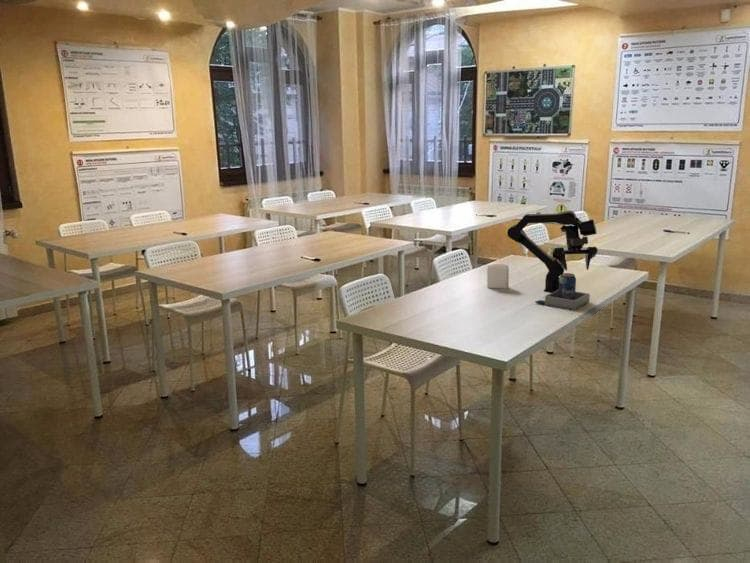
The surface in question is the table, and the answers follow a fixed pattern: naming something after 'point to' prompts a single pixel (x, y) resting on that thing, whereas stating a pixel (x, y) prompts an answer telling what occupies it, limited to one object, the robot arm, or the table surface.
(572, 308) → the tray
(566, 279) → the soda can
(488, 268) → the photo printer
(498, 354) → the table surface
